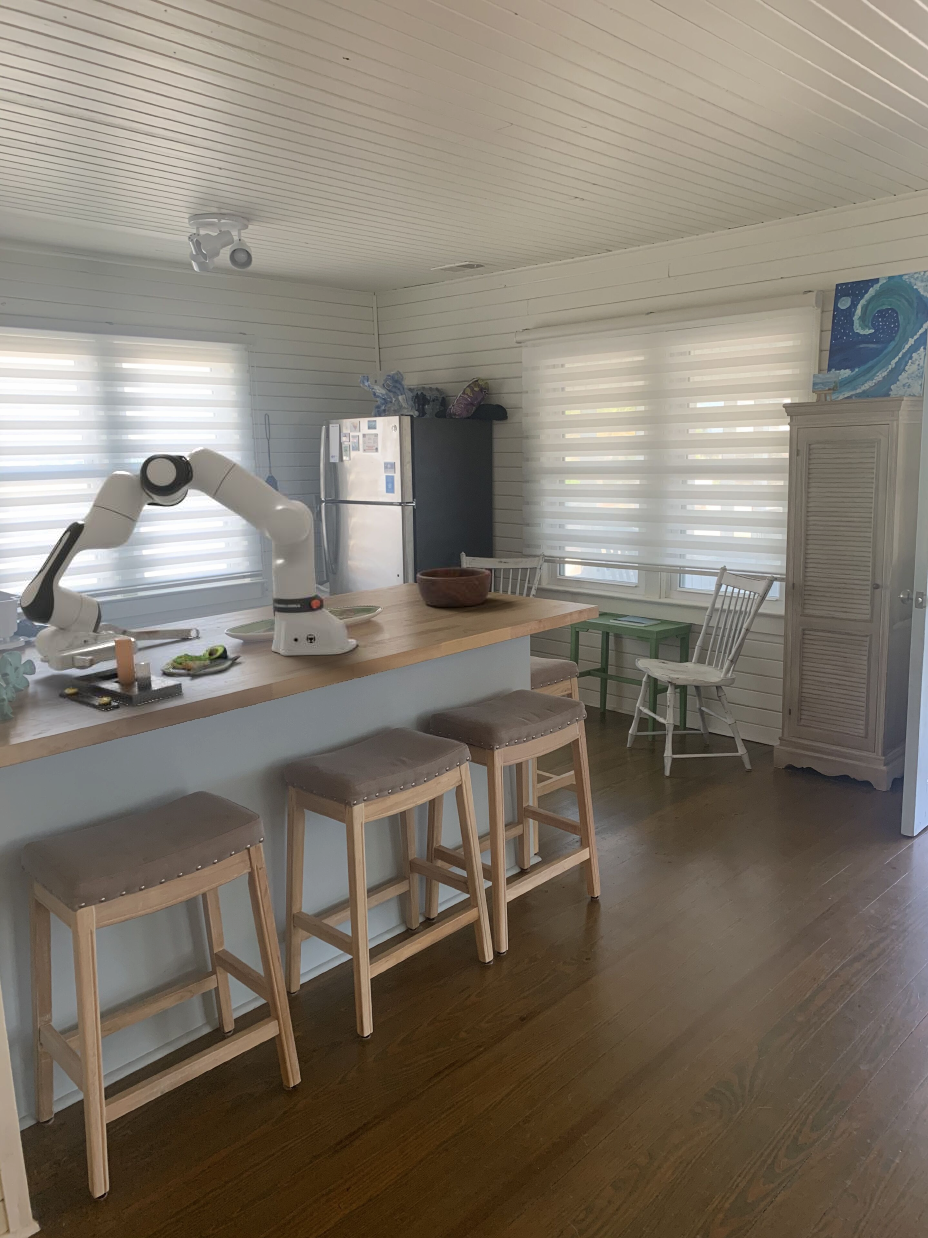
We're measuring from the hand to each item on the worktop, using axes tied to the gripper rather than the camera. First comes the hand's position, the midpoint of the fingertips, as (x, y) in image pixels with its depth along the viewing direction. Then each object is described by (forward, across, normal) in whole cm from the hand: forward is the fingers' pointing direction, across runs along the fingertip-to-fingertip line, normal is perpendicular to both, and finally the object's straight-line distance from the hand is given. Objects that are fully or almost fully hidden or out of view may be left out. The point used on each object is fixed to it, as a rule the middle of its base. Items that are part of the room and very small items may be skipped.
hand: (110, 657), depth 205 cm
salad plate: (0, +23, +8) cm, 24 cm away
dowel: (+6, 0, +7) cm, 10 cm away
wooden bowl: (-2, +125, +8) cm, 125 cm away
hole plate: (+5, -3, +7) cm, 9 cm away
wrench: (-34, +30, +8) cm, 46 cm away
